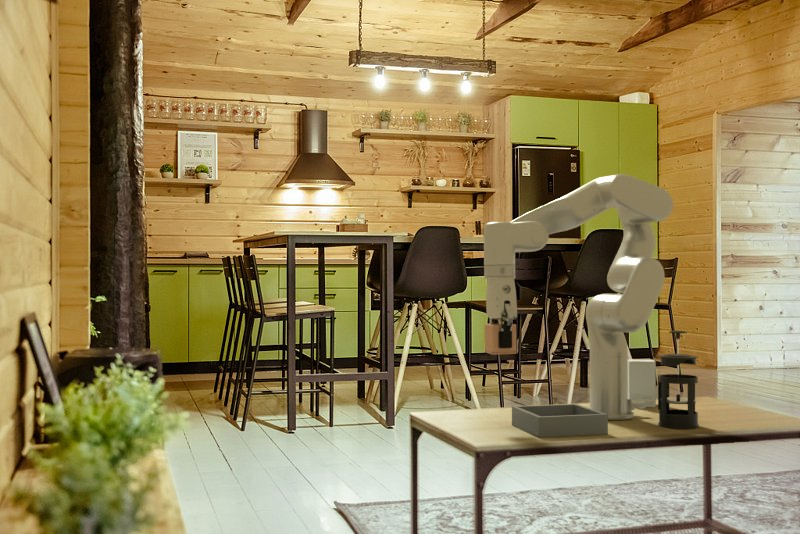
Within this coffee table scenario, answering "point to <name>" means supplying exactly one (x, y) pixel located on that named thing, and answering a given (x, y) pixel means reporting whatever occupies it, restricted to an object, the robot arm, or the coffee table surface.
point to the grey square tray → (559, 420)
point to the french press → (677, 416)
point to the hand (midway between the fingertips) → (500, 346)
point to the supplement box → (642, 381)
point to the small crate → (493, 340)
